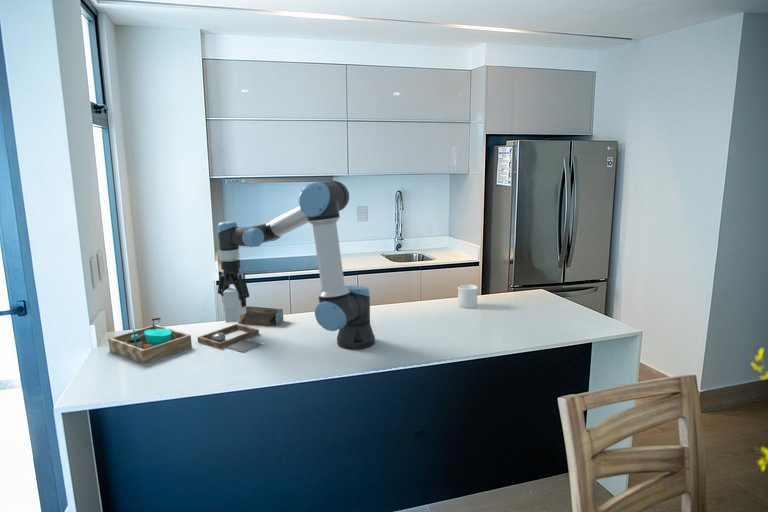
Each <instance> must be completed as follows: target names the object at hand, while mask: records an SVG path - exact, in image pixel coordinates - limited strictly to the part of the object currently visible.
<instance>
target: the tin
mask: <svg viewBox="0 0 768 512" xmlns="http://www.w3.org/2000/svg"><path fill="white" fill-rule="evenodd" d="M211 340H213V341H217V342H223V341H226V340H227V339H226V333H215V334H213V335H212V338H211Z"/></svg>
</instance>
